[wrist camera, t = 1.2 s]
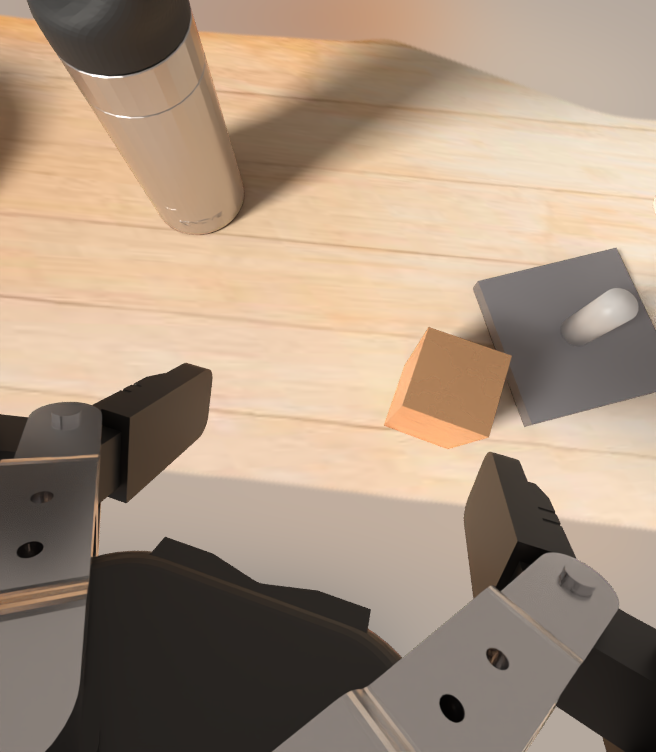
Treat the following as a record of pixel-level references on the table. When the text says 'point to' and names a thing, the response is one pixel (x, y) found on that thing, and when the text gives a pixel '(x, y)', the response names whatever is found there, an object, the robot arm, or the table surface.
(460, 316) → the table surface
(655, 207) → the drinking glass
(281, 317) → the table surface
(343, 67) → the table surface
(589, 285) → the post base
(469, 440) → the wooden block
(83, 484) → the robot arm
